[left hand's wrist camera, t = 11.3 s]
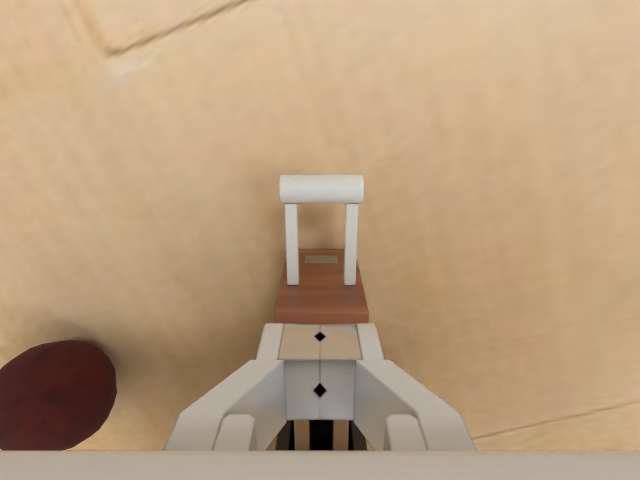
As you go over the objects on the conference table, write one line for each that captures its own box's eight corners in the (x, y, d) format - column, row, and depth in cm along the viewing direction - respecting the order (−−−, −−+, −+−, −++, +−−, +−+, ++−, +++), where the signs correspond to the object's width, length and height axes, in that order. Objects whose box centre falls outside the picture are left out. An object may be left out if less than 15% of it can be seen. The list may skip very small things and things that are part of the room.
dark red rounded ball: (16, 364, 29) (-73, 442, 22) (70, 300, 27) (-11, 365, 20) (99, 416, 31) (39, 503, 24) (155, 359, 29) (106, 437, 22)
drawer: (285, 159, 23) (267, 188, 15) (357, 159, 23) (375, 188, 15) (294, 440, 31) (285, 548, 23) (348, 440, 31) (356, 548, 23)
